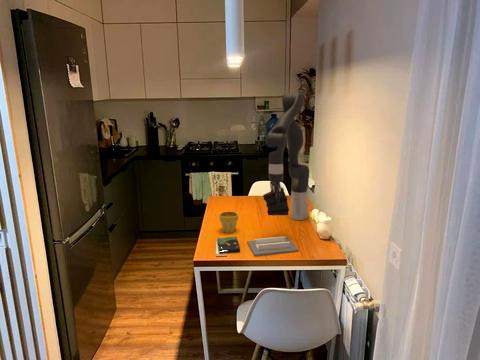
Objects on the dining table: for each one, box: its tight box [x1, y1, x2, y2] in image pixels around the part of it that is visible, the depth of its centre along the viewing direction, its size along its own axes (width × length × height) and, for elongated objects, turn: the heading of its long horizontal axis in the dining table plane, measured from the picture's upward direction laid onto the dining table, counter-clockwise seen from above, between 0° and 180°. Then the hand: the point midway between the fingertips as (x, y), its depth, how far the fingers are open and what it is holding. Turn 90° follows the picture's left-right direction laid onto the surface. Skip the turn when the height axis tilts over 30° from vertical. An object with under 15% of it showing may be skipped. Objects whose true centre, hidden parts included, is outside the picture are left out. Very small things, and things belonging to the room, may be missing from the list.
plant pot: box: [218, 210, 239, 234], centre depth 207 cm, size 10×10×10 cm
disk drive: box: [217, 236, 241, 255], centre depth 187 cm, size 10×3×15 cm
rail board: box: [246, 235, 299, 257], centre depth 185 cm, size 22×16×4 cm
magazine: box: [262, 187, 290, 216], centre depth 196 cm, size 4×13×15 cm, turn 85°
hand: (276, 203), depth 196 cm, fingers closed on magazine, 4 cm apart
